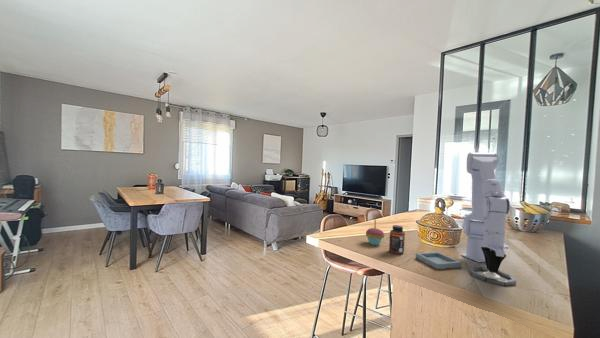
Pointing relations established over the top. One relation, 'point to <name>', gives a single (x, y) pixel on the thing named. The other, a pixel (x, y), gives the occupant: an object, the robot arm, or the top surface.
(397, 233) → the supplement bottle
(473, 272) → the collar
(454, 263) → the tray
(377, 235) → the cupcake
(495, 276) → the chess piece
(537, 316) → the top surface
